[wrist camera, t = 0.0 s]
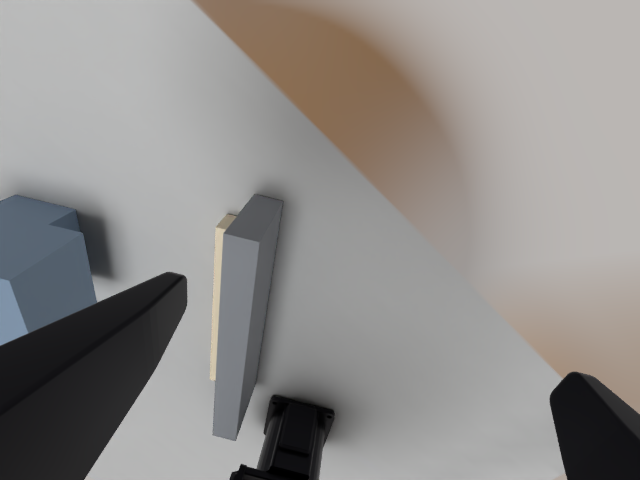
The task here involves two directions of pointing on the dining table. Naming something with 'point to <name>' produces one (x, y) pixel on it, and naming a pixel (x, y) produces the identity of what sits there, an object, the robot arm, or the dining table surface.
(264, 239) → the wall board
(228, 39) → the dining table surface
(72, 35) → the dining table surface
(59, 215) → the blue block
